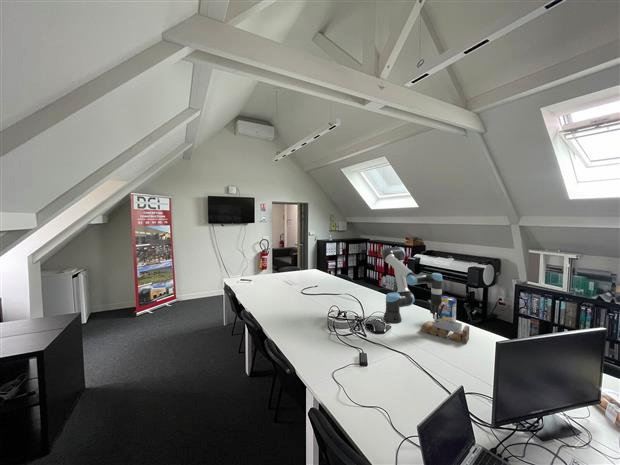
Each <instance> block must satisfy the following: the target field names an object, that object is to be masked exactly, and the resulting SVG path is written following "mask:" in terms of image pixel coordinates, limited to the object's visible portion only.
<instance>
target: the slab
mask: <svg viewBox="0 0 620 465" xmlns="http://www.w3.org/2000/svg"><path fill="white" fill-rule="evenodd" d="M434 324H435V327H437V328H440V329H444V330H448V331H450V332H451V333H454V332H455V333H459V332H460V330H463V329H462V326H463V325H462V324H463V323H461V322H453V321H449V320H445V319H441V318H439V319H438V320H436V321H435V323H434Z"/></svg>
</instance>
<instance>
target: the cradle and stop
mask: <svg viewBox="0 0 620 465" xmlns="http://www.w3.org/2000/svg"><path fill="white" fill-rule="evenodd" d="M462 331H463V333H462V339H461V340H460V341H459V343H462V344H464V345H467V343H468V342H469V340H470V325H465V326H464V327H463V329H462ZM452 334H453V332H449V333H448V335H447V336H446V339H447V340H449V339H450V338H451V335H452Z"/></svg>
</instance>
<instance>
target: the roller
mask: <svg viewBox="0 0 620 465" xmlns="http://www.w3.org/2000/svg"><path fill="white" fill-rule="evenodd" d="M462 333H463V329H461V330H460V332H459V333H455V332H452V335H451V336H450V338H451V340H452V341H453V342H455V343H460V340H461V339H462Z"/></svg>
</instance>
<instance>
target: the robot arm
mask: <svg viewBox="0 0 620 465" xmlns="http://www.w3.org/2000/svg"><path fill="white" fill-rule="evenodd" d="M406 254H407V253H406V251H405V249H404V248H403V247H401V246H394V247H385V248H384V249H383V250H382V251H381V258H382V259H383V261H384V262H385V263H386V264H389V265H390V266H391V267H392V268H393V269H394V270H393V271H394V276H395V281H396V288H397V291H396V292H388V293H386V296H385V311H384V314H383V320H384V321H385V322H387V323H390V324H400V323H402V320H403V319H402V318H403V317H402V316H401V312H400V309H401V308H405V307H410V306H412V305H413V304H414V303H415V296H414V294H413V293H412V292H411V290H410V289H409V288H408V285H409V286H415V285H422V284H428V285H431V286H430V288H431V289H430V291H431V293H430V299H428V300H426V301H427V304H428V308H429V313H430V314H432V319H433V321H434V322H433V324H435V321H436V320H438V319H439V315H441V314H442V311H443V308H444V306H445V305H446V304H445V303H443V302H442V296H443V275H442V274H441V273H440V272H433V273H431V274H430V273H426V272H420V273H418V274H415V273H414V272H413V271H412V270H411V269H409V267H407V265H404V261H405V258H406ZM441 303H442V306H441V309H440V313H439V305H440V304H441Z"/></svg>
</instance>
